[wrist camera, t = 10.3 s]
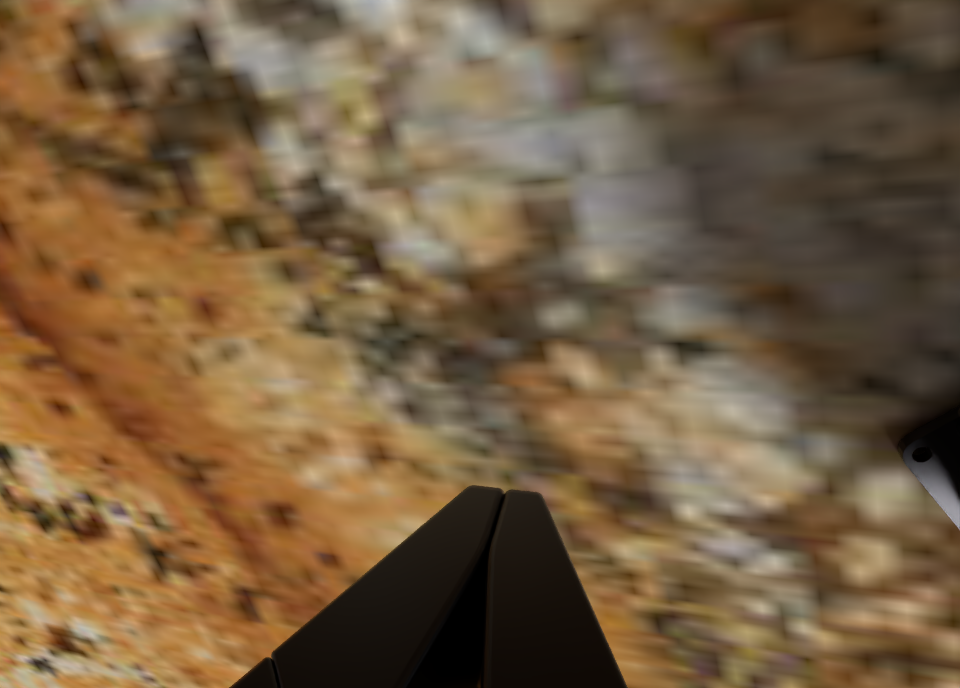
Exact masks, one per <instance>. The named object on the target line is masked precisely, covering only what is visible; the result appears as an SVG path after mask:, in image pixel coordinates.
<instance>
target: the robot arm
mask: <svg viewBox="0 0 960 688" xmlns="http://www.w3.org/2000/svg"><path fill="white" fill-rule="evenodd" d="M920 447H927V448H926V450H925V451H924V452H923V453H921V454H918V455H915V454H913V451H915V450H916V449H917V448H920ZM898 452H899V454H900V456H901V458H902V459H903V461H904V463H905V464H906V465H907V467H908V468H909V469H910V470H911V471H912V473H913V474H914V475H915V476H916V477H917V479H918V480H919V481H920V482H921V483H922V485H923V486H924V487H925V488H926V490H927V491H928V492H929V493H930V494H931V496H932V497H933V498H934V499H935V500H936V502H937V503H938V504H939V505H940V506H941V508H942V509H943V510H944V511H945V512H946V514H947V515H948V516H949V517H950V518H951V520H952V521H953V522H954V523H955V524H956V526H957V527H958V528H959V529H960V406H959V407H957V408H955V409H953V410H951V411H950V412H948V413H946V414H944V415H942V416H941V417H939V418H937V419H935V420H933V421H932V422H930V423H928V424H926V425H924V426H922V427H921V428H919V429H917V430H915V431H913V432H912V433H910V434H908V435H906V436H905V437H904V438H903V439H901V441H900V443H899V445H898ZM271 658H272V659H271ZM271 658H269V657H266V658H264V659H263V660H262V661H261V662H260V663H258V664H257V665H256V666H255V667H254V668H252V669H251V670H250V671H249V672H248V673H246V674H245V675H244V676H243V677H242V678H241V679H239V680H238V681H237V682H236V683H234V684H233V685H232V686H231V687H229V688H628V687H627V685H626V683H625V681H624V678H623V676H622V674H621V672H620V669H619V667H618V665H617V663H616V660H615V658H614V656H613V654H612V651H611V649H610V647H609V645H608V642H607V640H606V638H605V636H604V633H603V631H602V629H601V627H600V624H599V622H598V620H597V617H596V615H595V613H594V611H593V608H592V606H591V604H590V602H589V599H588V597H587V595H586V593H585V590H584V588H583V586H582V584H581V581H580V579H579V577H578V575H577V572H576V570H575V568H574V566H573V563H572V561H571V559H570V557H569V554H568V552H567V550H566V548H565V545H564V543H563V541H562V538H561V536H560V534H559V532H558V529H557V527H556V525H555V523H554V520H553V518H552V516H551V514H550V511H549V509H548V507H547V505H546V502H545V500H544V498H543V496H542V495H541V494H540V493H538V492H530V491H520V490H509V491H507V492H506V493H504V491H503V490H502V489H500V488H493V487H484V486H476V485H472V486H469V487H467V488H466V489H465V490H463V491H462V492H461V493H460V494H459V495H458V496H456V497H455V498H454V499H453V500H452V501H450V502H449V503H448V504H447V505H446V506H445V507H443V508H442V509H441V510H440V511H439V512H437V513H436V514H435V515H434V516H433V517H432V518H430V519H429V520H428V521H427V522H426V523H424V524H423V525H422V526H421V527H420V528H418V529H417V530H416V531H415V532H414V533H413V534H411V535H410V536H409V537H408V538H407V539H405V540H404V541H403V542H402V543H401V544H400V545H398V546H397V547H396V548H395V549H394V550H392V551H391V552H390V553H389V554H388V555H387V556H385V557H384V558H383V559H382V560H381V561H379V562H378V563H377V564H376V565H375V566H374V567H372V568H371V569H370V570H369V571H368V572H366V573H365V574H364V575H363V576H362V577H361V578H359V579H358V580H357V581H356V582H355V583H353V584H352V585H351V586H350V587H349V588H348V589H346V590H345V591H344V592H343V593H342V594H340V595H339V596H338V597H337V598H336V599H334V600H333V601H332V602H331V603H330V604H329V605H327V606H326V607H325V608H324V609H323V610H321V611H320V612H319V613H318V614H317V615H316V616H314V617H313V618H312V619H311V620H310V621H308V622H307V623H306V624H305V625H304V626H303V627H301V628H300V629H299V630H298V631H297V632H295V633H294V634H293V635H292V636H291V637H290V638H288V639H287V640H286V641H285V642H284V643H282V644H281V645H280V646H279V647H278V648H277V649H275V650H274V651H273V652H272V654H271Z"/></svg>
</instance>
